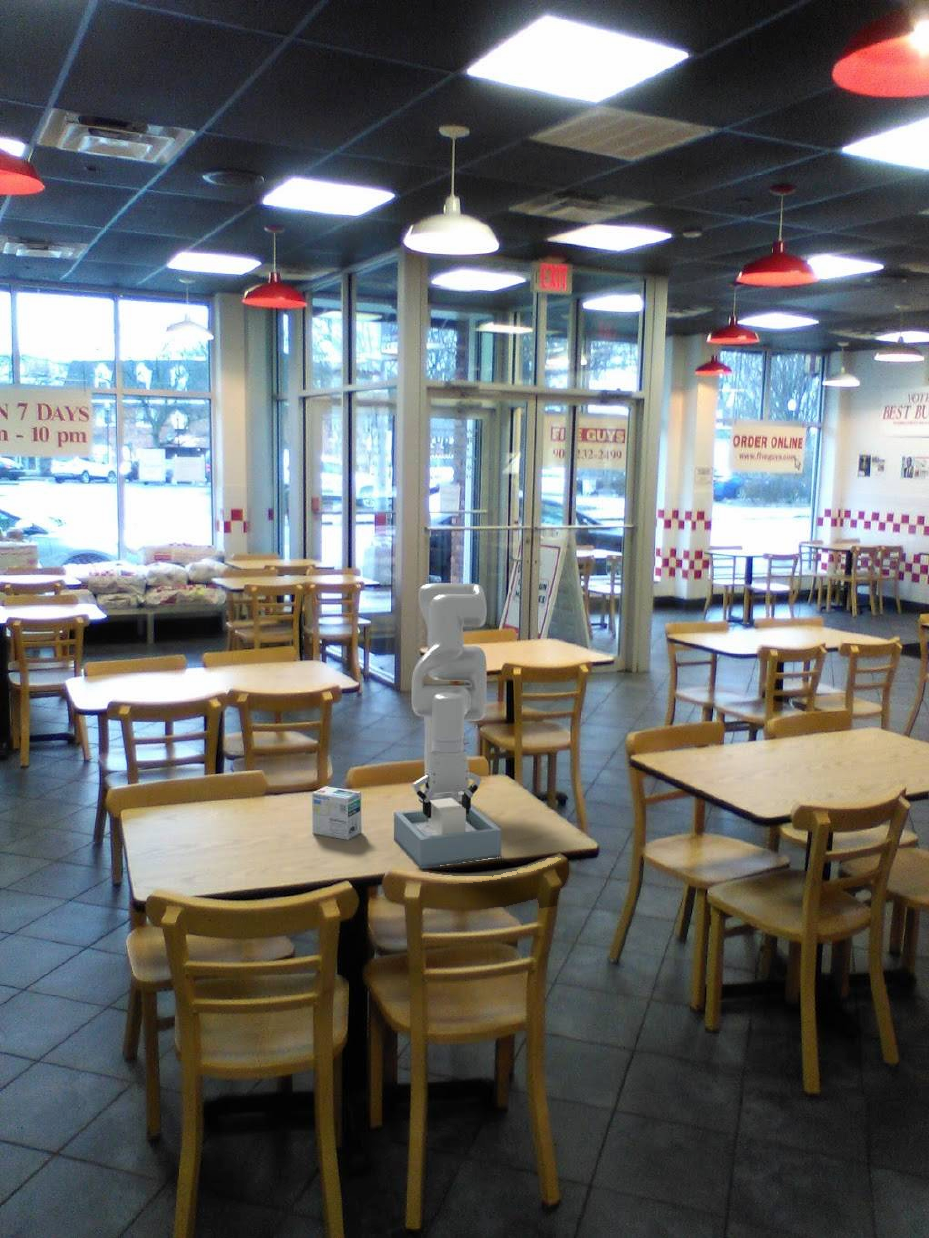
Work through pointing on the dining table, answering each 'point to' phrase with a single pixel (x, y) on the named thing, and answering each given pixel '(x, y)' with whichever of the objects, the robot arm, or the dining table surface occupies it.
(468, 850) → the tray
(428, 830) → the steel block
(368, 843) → the dining table surface
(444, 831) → the white rectangular block
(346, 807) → the light bulb box
